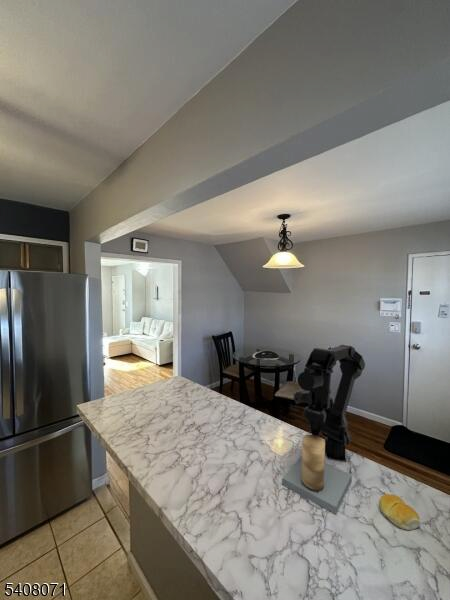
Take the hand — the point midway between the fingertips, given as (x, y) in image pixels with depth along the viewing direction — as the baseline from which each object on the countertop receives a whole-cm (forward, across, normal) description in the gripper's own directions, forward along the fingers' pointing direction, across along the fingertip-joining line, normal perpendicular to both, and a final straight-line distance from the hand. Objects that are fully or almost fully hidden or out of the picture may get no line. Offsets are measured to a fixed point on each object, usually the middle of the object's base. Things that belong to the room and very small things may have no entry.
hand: (317, 433), depth 83 cm
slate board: (+13, +4, +2) cm, 14 cm away
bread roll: (+13, +4, +23) cm, 27 cm away
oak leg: (+14, +8, +1) cm, 16 cm away
